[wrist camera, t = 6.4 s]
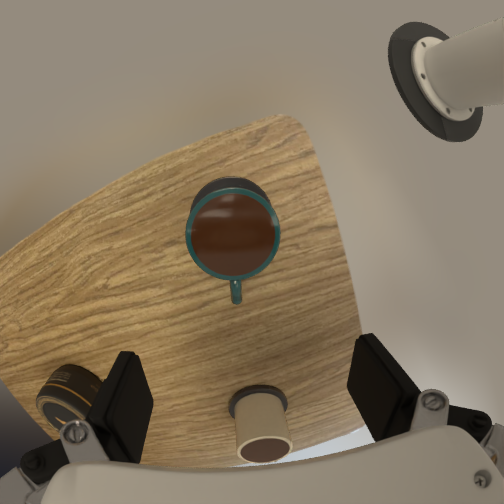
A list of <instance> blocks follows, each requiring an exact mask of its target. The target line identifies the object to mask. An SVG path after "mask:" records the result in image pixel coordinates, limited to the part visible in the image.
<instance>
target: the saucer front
mask: <svg viewBox="0 0 504 504" xmlns="http://www.w3.org/2000/svg"><path fill="white" fill-rule="evenodd" d="M225 184H238V185H242V186H245V187H247V188H249V189H251V190H252V191H254V192H255V193H257V194H258V195H260V196H261V197H263V198H264V199H265V200H266V201H267V202H268V203H269V204H270V205H271V203H270V200H269V199H268V197H267V195H266V194H265V192H264V191H263V190H262V189H261V188H260V187H259V186H258V185H256V184H255V183H253V182H252V181H250V180H247V179H244V178H241V177H222V178H219V179H216V180H214V181H212V182H210V183H208V184H207V185H206V186H204V187H203V188H202V189H201V190H200V191H199V193H198V194H197V195H196V197H195V199H194V200H193V203H192V206H191V210H190V213H191V211H192V210H193V208H194V207H195V206H196V204H197V203H198V202H199V201H200V200H201V199H202V198H203V197H204V196H205V195H206V194H207V193H209V192H210V191H211V190H213V189H214V188H216V187H219V186H221V185H225ZM271 207H272V206H271Z"/></svg>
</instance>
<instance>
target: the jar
mask: <svg viewBox="0 0 504 504" xmlns="http://www.w3.org/2000/svg"><path fill="white" fill-rule="evenodd" d="M101 385H102V382H101V381H100V380H99V379H98V378H97V377H96V376H95V375H93V374H92V373H91V372H89V371H87V370H86V369H83V368H81V367H78V366H74V365H65V366H62V367H60V368H59V369H57V370H56V371H54V372H53V374H52V375H51V376H50V378H49V379H48V381H47V382H46V384H45V385H44V386H43V387H42V388H41V390H40V392H39V394H38V395H37V398H36V406H37V409H38V411H39V413H40V414H41V416H42V417H43V418H44V420H45V421H46V422H47V423H48V424H49V425H50V426H51V427H52V428H54V429H55V430H56V431H58V432H59V433H60V430H61V428H62V426H63V425H64V424H65V423H67V422H69V421H71V420H75V419H81V420H85V418H86V416H87V414H88V412H89V410H90V407H91V405H92V403H93V401H94V399H95V397H96V395H97V393H98V391H99V389H100V387H101Z"/></svg>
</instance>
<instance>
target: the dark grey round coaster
mask: <svg viewBox="0 0 504 504" xmlns="http://www.w3.org/2000/svg"><path fill="white" fill-rule="evenodd" d="M255 393H268V394H272V395H275V396H276V397H278V398H279V399H280V400H281V401H282V404H283V408H284V412H285V411H286V409H287V406H288V403H287V399H286V396H285V394H284V393H283V392H282V391H281V390H279V389H278V388H276V387H273V386H268V385H255V386H249V387H246V388H244V389H241V390H240V391H238V392H237V393H235V394H234V395H233V396H232V398H231V399H230V402H229V412H230V414H231V416H232V417H233V418H234V419H235V414H234V408H235V405H236V403H237V402H238V401H239V400H240V399H242V398H243V397H245V396H248V395H250V394H255Z"/></svg>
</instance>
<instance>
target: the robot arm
mask: <svg viewBox="0 0 504 504" xmlns="http://www.w3.org/2000/svg"><path fill="white" fill-rule="evenodd" d="M411 65H412V70H413V73H414V76H415V79H416V82H417V84H418V86H419V88H420V90H421V92H422V93H423V95H424V97H425V98H426V99H427V101H428V102H429V103H430V105H431V106H432V107H433V108H434V109H435V110H436V111H437V112H438V113H439V114H441V115H442V116H443V117H445V118H447V119H449V120H452V121H463V120H466V119H468V118H470V117H471V116H472V114H473V112H474V110H475V107H482V106H490V105H499V104H504V17H503V18H499V19H497V20H493V21H491V22H488V23H485V24H483V25H480V26H478V27H475V28H473V29H470V30H468V31H465V32H463V33H461V34H458V35H456V36H454V37H452V38H449V39H447V40H445V41H442V40H440V39H438V38H434V37H425V38H422V39H420V40H418V41H417V42H416V43H415V44H414V46H413V48H412V51H411ZM347 388H348V391H349V393H350V395H351V397H352V399H353V401H354V403H355V404H356V406H357V408H358V410H359V412H360V414H361V416H362V418H363V420H364V422H365V423H366V425H367V427H368V429H369V431H370V433H371V435H372V437H373V438H374V441H375V443H371V444H368V445H364V446H361V447H357V448H354V449H350V450H346V451H342V452H338V453H333V454H329V455H324V456H320V457H315V458H309V459H304V460H298V461H292V462H285V463H277V464H269V465H259V466H248V467H227V468H186V467H168V466H154V465H144V464H139V463H140V460H141V455H142V451H143V446H144V442H145V438H146V433H147V429H148V425H149V421H150V417H151V413H152V409H153V397H152V395H151V392H150V389H149V386H148V383H147V380H146V377H145V374H144V371H143V368H142V365H141V361H140V358H139V356H138V355H135V353H134V352H131V351H121V352H120V353H119V355H118V357H117V359H116V361H115V363H114V365H113V367H112V369H111V371H110V373H109V375H108V377H107V379H105V380H104V381H103V383H102V385H101V387H100V389H99V391H98V393H97V395H96V397H95V399H94V401H93V403H92V405H91V407H90V410H89V412H88V414H87V416H86V418H85V420H81V419H75V420H71V421H69V422H67V423H65V424H64V425H63V426H62V428H61V430H60V439H58V440H56V441H53V442H51V443H49V444H46V445H44V446H41V447H39V448H36V449H34V450H31V451H29V452H27V453H25V454H24V456H22V458H21V462H20V466H21V467H20V468H19V469H17V468H16V467H15V468H14V469H12V470H11V471H10V472H8V473H7V474H6V475H4V476H3V477H2V478H0V504H504V426H502V425H500V424H497V423H495V425H492V421H491V418H490V417H489V416H488V415H487V414H486V413H484V412H482V411H478V410H472V409H467V408H462V407H457V406H452V405H449V399H448V397H447V396H446V395H445V394H444V393H443V392H441V391H439V390H436V389H429V390H425V391H423V392H421V391H420V390H419V389H418V387H417V386H416V385H415V384H414V382H413V381H412V380H411V378H410V377H409V376H408V375H407V373H406V372H405V371H404V370H403V369H402V367H401V366H400V365H399V364H398V363H397V361H396V360H395V359H394V358H393V356H392V355H391V354H390V353H389V352H388V351H387V349H386V348H385V347H384V346H383V344H382V343H381V342H380V341H379V340H378V339H377V337H376V336H375V335H374V334H373V333H369V334H364V335H360V336H359V339H356V341H355V346H354V352H353V357H352V362H351V367H350V372H349V377H348V381H347Z"/></svg>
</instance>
